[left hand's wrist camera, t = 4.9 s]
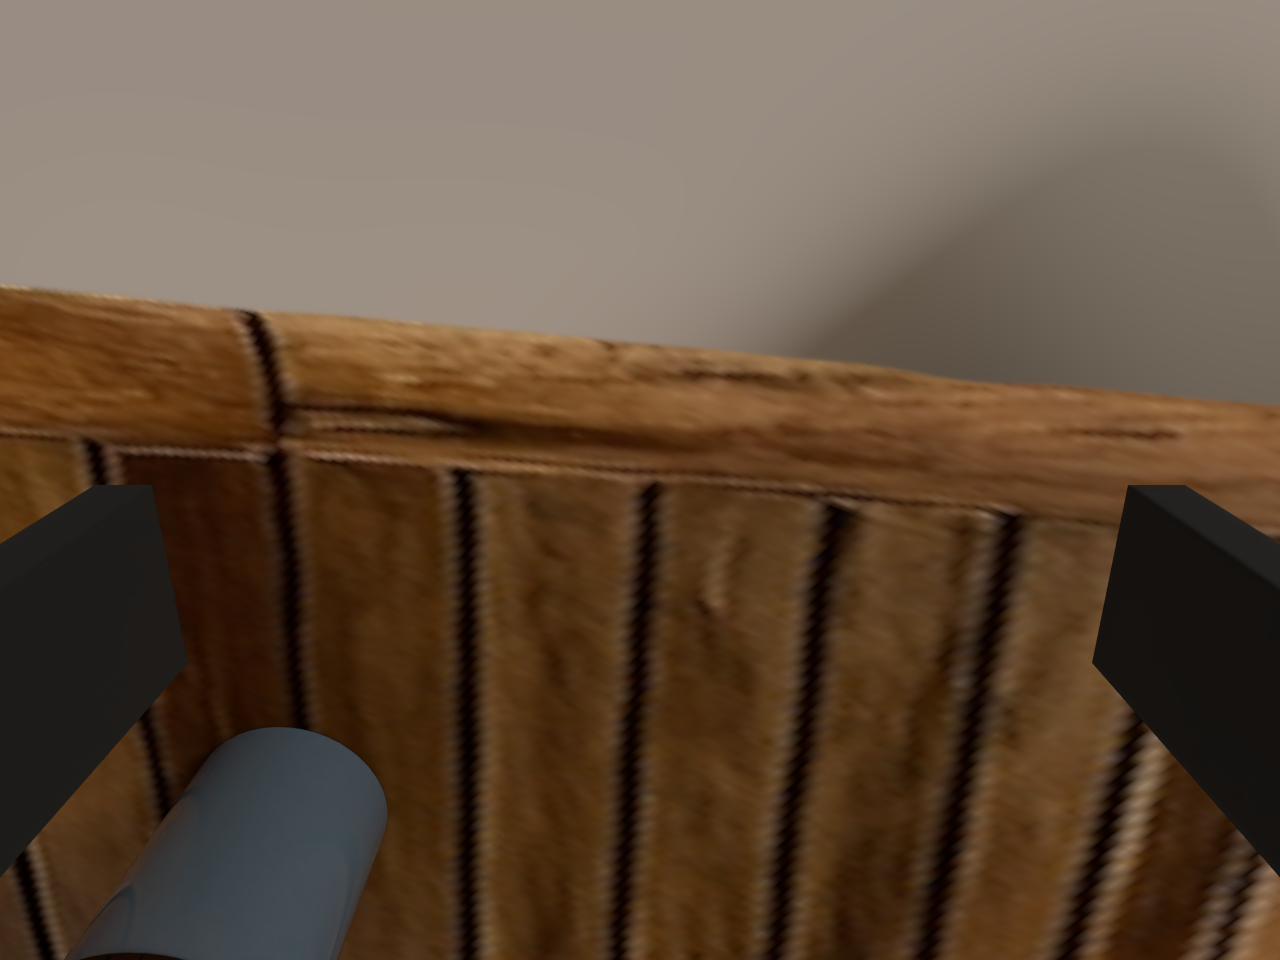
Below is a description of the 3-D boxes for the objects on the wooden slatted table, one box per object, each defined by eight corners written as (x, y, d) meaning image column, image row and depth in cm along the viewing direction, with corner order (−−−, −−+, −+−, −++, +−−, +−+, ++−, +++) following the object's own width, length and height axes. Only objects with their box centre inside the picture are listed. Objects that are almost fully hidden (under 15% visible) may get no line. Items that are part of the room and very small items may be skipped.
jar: (398, 879, 50) (294, 1196, 35) (214, 882, 50) (31, 1199, 35) (375, 724, 46) (248, 1002, 31) (178, 727, 46) (-44, 1006, 31)
